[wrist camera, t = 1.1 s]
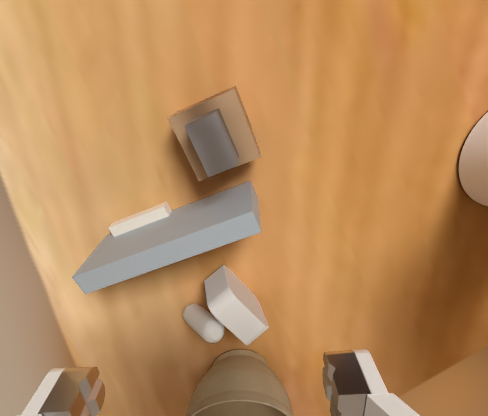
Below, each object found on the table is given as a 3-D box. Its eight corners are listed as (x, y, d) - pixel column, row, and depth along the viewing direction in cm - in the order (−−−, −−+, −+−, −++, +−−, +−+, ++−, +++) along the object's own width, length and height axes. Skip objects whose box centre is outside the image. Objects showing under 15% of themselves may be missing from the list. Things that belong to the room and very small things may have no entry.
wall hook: (167, 300, 45) (163, 348, 36) (220, 255, 45) (230, 291, 36) (204, 332, 48) (209, 384, 39) (254, 290, 48) (271, 332, 38)
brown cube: (235, 86, 34) (232, 92, 25) (258, 144, 36) (262, 167, 28) (178, 111, 35) (158, 124, 27) (204, 166, 37) (193, 193, 29)
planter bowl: (192, 396, 55) (180, 467, 45) (194, 329, 49) (182, 396, 39) (280, 402, 56) (288, 474, 46) (295, 337, 49) (308, 404, 39)
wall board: (246, 170, 38) (246, 198, 29) (257, 197, 39) (261, 232, 31) (100, 227, 41) (64, 267, 33) (115, 250, 42) (85, 294, 34)
